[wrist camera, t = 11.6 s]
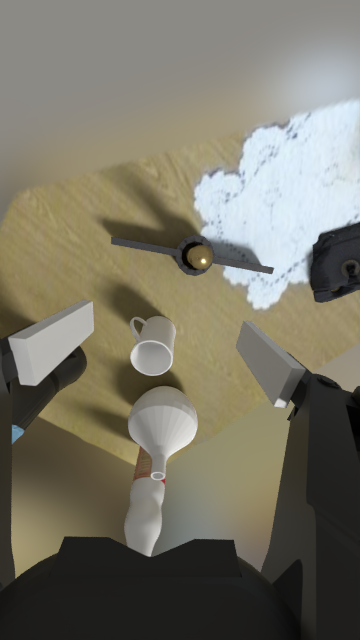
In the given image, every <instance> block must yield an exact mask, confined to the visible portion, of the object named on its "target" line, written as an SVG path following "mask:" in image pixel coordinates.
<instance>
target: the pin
mask: <svg viewBox="0 0 360 640" xmlns="http://www.w3.org/2000/svg"><path fill="white" fill-rule="evenodd" d="M186 259H187V260H188V262H189V263H191V264H192V265H193V266H194V267H195V268H197V269H205V268H207V267H208V266H209V265H210V264H211V262H212V259H213V254H212V251H211V250H210V248H209V247H207V246H205V245H199V246H196V247H194V248H191V249H189V250H188V251H187V253H186Z"/></svg>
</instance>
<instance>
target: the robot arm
mask: <svg viewBox="0 0 360 640" xmlns="http://www.w3.org/2000/svg"><path fill="white" fill-rule="evenodd" d="M93 331H94V320H93V301H87V300H82V301H80V302H78V303H76V304H74V305H72V306H70V307H68V308H66V309H64V310H62V311H60V312H58V313H56V314H54V315H52V316H50V317H48V318H46V319H44V320H42V321H40V322H38V323H35V324H32V325H29V326H27V327H25V328H23V329H21V330H19V331H17V332H15V333H13V334H11V335H9V336H7V337H5V338H3V339H1V338H0V640H360V386H358V387H357V388H356V389H355V390H354V392H353V393H352V392H349V391H345V390H342V388H341V387H340V386H339V385H338V384H337V383H336V382H334V381H333V380H331V379H329V378H327V377H325V376H323V375H319V374H312V373H311V372H310V371H309V370H308V369H307V368H306V367H304V366H303V365H302V364H301V363H299V361H297V360H296V359H295V358H294V357H293V356H292V355H291V354H289V353H288V352H286V351H285V350H283V349H282V348H281V347H280V346H279V345H278V344H277V343H275V342H274V341H273V340H272V339H271V338H270V337H269V336H268V335H266V334H265V333H264V332H263V331H262V330H261V329H260V328H258V327H257V326H256V325H255V324H254V323H253V322H251V321H243V324H242V328H241V331H240V334H239V337H238V341H237V344H236V349H237V350H238V352H239V353H240V355H241V356H242V358H243V359H244V361H245V363H246V364H247V366H248V367H249V369H250V370H251V372H252V373H253V375H254V376H255V378H256V380H257V381H258V383H259V384H260V386H261V387H262V389H263V390H264V392H265V393H266V395H267V397H268V398H269V400H270V401H271V402H272V404H273V406H274V407H287V405H288V403H289V402H290V400H291V401H292V402H293V403H294V404H295V406H294V408H293V410H292V412H291V414H290V415H289V417H288V419H287V420H289V421H290V419H291V421H290V427H289V433H288V439H287V445H286V451H285V457H284V463H283V469H282V475H281V481H280V486H279V492H278V498H277V504H276V510H275V516H274V522H273V528H272V534H271V540H270V545H269V549H268V553H267V555H266V558H265V561H264V563H263V566H262V570H261V573H260V572H259V571H258V570H256V569H255V568H254V567H253V566H252V565H250V564H249V563H247V562H246V561H244V560H243V559H241V558H240V557H238V556H237V554H236V549H235V544H234V540H214V539H194V540H192V541H189V542H187V543H185V544H182V545H180V546H178V547H176V548H173V549H170V550H168V551H166V552H164V553H161V554H159V555H157V556H154V557H149V556H146V555H144V554H142V553H140V552H138V551H136V550H134V549H131V548H129V547H127V546H125V545H123V544H121V543H119V542H117V541H115V540H113V539H111V538H108V537H64V539H63V542H62V544H61V547H60V549H59V552H58V553H57V554H54V555H52V556H50V557H48V558H46V559H44V560H43V561H40V562H38V563H37V564H36V565H34V566H32V567H31V568H30V569H28V570H27V571H25V572H24V573H22V574H21V575H20V576H19V577H17V578H16V579H15V567H14V559H13V554H12V548H11V547H12V546H11V489H12V485H11V484H12V483H11V482H12V444H13V443H14V442H15V440H17V438H18V437H20V436H21V435H22V434H23V432H24V430H25V429H26V428H27V427H28V426H29V425H30V424H31V422H32V421H33V420H34V419H35V418H36V417H37V416H38V414H39V413H40V412H41V411H42V410H43V409H44V408H45V406H46V405H47V404H48V403H49V402H50V401H51V399H52V398H53V397H54V396H55V395H56V394H57V393H58V392H59V391H60V390H62V389H63V388H65V387H66V386H68V385H69V384H71V383H73V382H75V381H76V380H77V379H78V378H79V377H80V376H81V375H82V374H83V372H84V371H85V369H86V365H87V361H86V356H85V354H84V352H83V350H82V349H81V348H80V347H79V345H80V344H81V343H82V342H83V341H84V340H85V339H86V338H87V337H88V336H89V335H90V334H91V333H92V332H93Z"/></svg>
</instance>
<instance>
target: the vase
mask: <svg viewBox="0 0 360 640" xmlns="http://www.w3.org/2000/svg"><path fill="white" fill-rule="evenodd" d="M197 427H198V424H197V413H196V411H195V408H194V406H193V405H192V403H191V401H190V400H189V398H188V397H187V396H186V395H185V394H184V393H182V392H181V391H179V390H178V389H176V388H173V387H169V386H159V387H155V388H153V389H151V390H149V391H147V392H145V393H144V394H143V395H142V396H141V397H140V398H139V399H138V400H137V401H136V402H135V404H134V405H133V407H132V409H131V412H130V415H129V419H128V429H129V433H130V435H131V437H132V439H133V440H134V441H135V442H136V443H138V444H139V445H140V446H141V447H142V448H143V449H144V450H146V451H147V452H148V453H149V454H150V456H151V457H152V469H151V478H152V479H154V480H162V479H164V478H165V471H166V461H167V459H168V458H169V456H171V455H172V454H173V453H175V452H176V451H178V450H180V449H181V448H183V447H184V446H186V445H187V444H189V443H190V442H191V441H192V440H193V438H194V436H195V434H196V431H197Z"/></svg>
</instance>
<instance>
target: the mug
mask: <svg viewBox="0 0 360 640" xmlns="http://www.w3.org/2000/svg"><path fill="white" fill-rule="evenodd" d="M134 320H138V321H140V322H141V323H142V324H143V327H142V331H141V333H140V335H138V333H137V331H136V329H135V327H134ZM130 328H131V331H132V333H133V335H134V337H135V339H136V340H137V341H136V343H135V345H134V347H133V349H132V351H131V355H130V358H131V362H132V365H133V366H134V367H135V369H136V370H138V371H139V372H141V373H143V374H145V375H150V376H155V375H160V374H163V373H165V372H166V371H167V370H168V369H169V368H170V367H171V365H172V361H173V348H174V337H175V333H176V331H175V327H174V324H173V323H172V322H171V321H170V320H169V319H167V318H165V317H162V316H154V317H151V318H149V319H148V320H146V321H145V320H143V319H142V318H140V317H134V318H132V319H131V321H130Z"/></svg>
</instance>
